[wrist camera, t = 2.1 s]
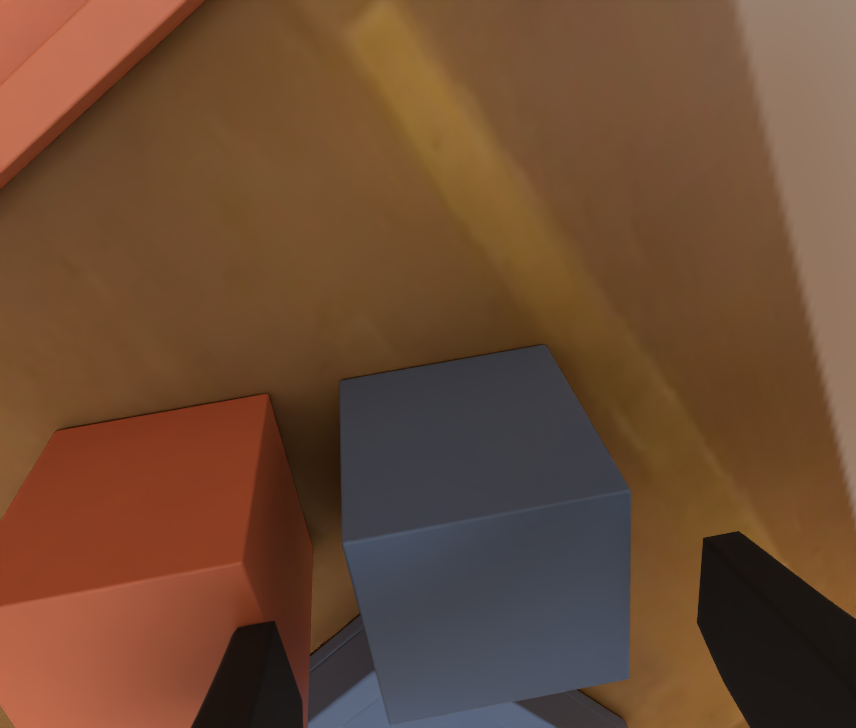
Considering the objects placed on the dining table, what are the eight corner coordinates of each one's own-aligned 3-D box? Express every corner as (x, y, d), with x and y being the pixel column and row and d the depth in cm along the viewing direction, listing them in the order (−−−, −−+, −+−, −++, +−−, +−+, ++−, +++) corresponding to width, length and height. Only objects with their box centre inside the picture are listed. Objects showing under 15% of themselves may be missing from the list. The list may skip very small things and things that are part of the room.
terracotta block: (268, 392, 15) (242, 562, 11) (313, 549, 17) (307, 742, 13) (54, 430, 15) (-61, 618, 10) (127, 583, 17) (58, 792, 13)
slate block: (546, 343, 15) (632, 490, 11) (556, 503, 17) (630, 679, 13) (338, 379, 15) (341, 543, 11) (374, 537, 17) (389, 726, 13)
